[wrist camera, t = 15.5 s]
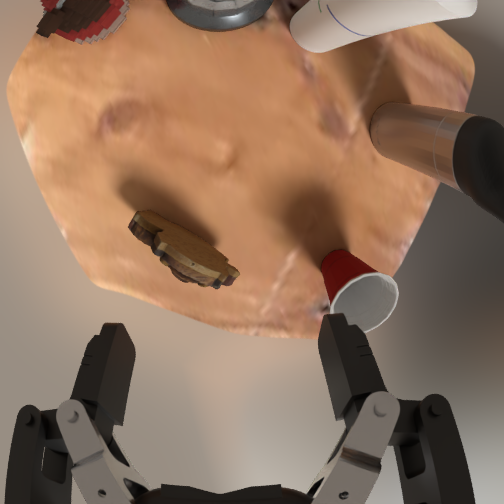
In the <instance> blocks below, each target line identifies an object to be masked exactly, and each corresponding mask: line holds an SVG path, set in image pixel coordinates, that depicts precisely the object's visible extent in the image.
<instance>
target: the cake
mask: <svg viewBox="0 0 504 504" xmlns="http://www.w3.org/2000/svg"><path fill="white" fill-rule="evenodd" d="M127 1H128V0H41V2H43V4H42V6H44V7H45V8H44V12H43V13H44V15H43V18H42V19H41V21H40V22H39V24H38V25H37V27H38V28H39V29H38V30H37V32H36V33H37V34H39V35H41V36H44V37H47V38H48V37H49V36H50V34H51V33H53V34H54V33H56V34H58V35H60V36H62V37H64V38H66V39H68V40H71V41H73V42H74V41H75V42H77V43H79V44H81V45H82V44H83V43H84V41H86V42H88V43H89V44H92V43H93V42H94V40H95V41H96V42H98V41H99V40H100V38H101V39H103V40H105V38H106V37H107V36H108V34H109V33H110V32H111V33H113V34H114V33H115V32H116V31H117V29H118V28H119V27H120V26H121V25H122V24H123V22H124V21H125V20H126V19H127V18H126V17H125V16H124V15H125V14H126V13H127V12H128V11H129V10H130V8H129V7H127V6H128V5H129V4H130V3H129V2H127Z"/></svg>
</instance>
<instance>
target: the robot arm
mask: <svg viewBox="0 0 504 504" xmlns="http://www.w3.org/2000/svg"><path fill="white" fill-rule="evenodd" d="M370 133H371V139H372V142H373V144H374V146H375V148H376V149H377V151H378V152H379V153H380V154H381V155H383V156H384V157H386V158H389V159H391V160H394V161H396V162H398V163H401V164H403V165H405V166H408V167H410V168H412V169H415V170H417V171H419V172H421V173H424V174H426V175H428V176H430V177H432V178H434V179H437V180H439V181H441V182H443V183H445V184H447V185H449V186H451V187H453V188H455V189H457V190H459V191H461V192H463V193H465V194H466V195H468V196H470V197H471V198H472V199H473V200H474V201H475V203H476V204H477V205H479V206H480V207H481V208H482V209H484V210H486V211H487V212H489V213H490V214H492V215H493V216H495V217H496V218H497V219H499V220H500V221H501V222H503V223H504V128H503V126H502V125H501V124H499V123H498V122H496V121H495V120H492V119H490V118H486V117H482V116H477V115H473V114H469V113H464V112H458V111H453V110H448V109H442V108H436V107H429V106H422V105H414V104H406V103H395V102H390V103H386V104H383V105H382V106H380V107H379V108H378V109H377V110H376V112H375V113H374V115H373V117H372V121H371V126H370ZM318 349H319V354H320V358H321V361H322V365H323V369H324V373H325V377H326V381H327V385H328V389H329V393H330V397H331V401H332V406H333V410H334V414H335V418H336V421H338V420H343V419H344V421H345V424H346V428H345V429H344V431H343V433H342V435H341V437H340V439H339V441H338V442H337V444H336V446H335V448H334V450H333V452H332V453H331V455H330V457H329V458H328V460H327V462H326V464H325V465H324V467H323V468H322V469H321V471H320V472H319V473H318V475H317V476H316V478H315V479H314V481H313V483H312V484H311V486H310V487H309V489H308V490H307V492H306V493H302V492H300V491H297V490H294V489H289V488H282V487H281V484H278V485H269V486H268V485H267V486H255V487H254V486H253V487H248V488H244V489H241V490H237V491H232V492H228V493H224V494H216V493H212V492H208V491H204V490H200V489H196V488H193V487H190V486H177V485H167V484H161V488H157V489H152V488H151V486H150V485H149V484H148V482H147V481H146V479H145V478H144V477H143V476H142V475H141V474H140V473H139V472H138V471H137V470H136V469H135V467H134V466H133V465H132V463H131V461H130V460H129V458H128V456H127V455H126V453H125V452H124V450H123V448H122V447H121V445H120V443H119V441H118V439H117V438H116V436H115V434H114V432H113V426H114V425H120V426H123V421H124V414H125V409H126V403H127V397H128V392H129V386H130V381H131V377H132V371H133V367H134V362H135V357H136V356H135V355H136V354H135V353H136V352H135V347H134V344H133V342H132V340H131V338H130V336H129V334H128V332H127V331H126V328H125V326H124V325H123V324H122V323H104V325H103V327H102V329H101V332H100V335H94V337H93V338H92V339H91V340H90V342H89V343H88V345H87V347H86V350H85V353H84V357H83V359H82V362H81V366H80V368H79V372H78V375H77V378H76V381H75V385H74V388H73V392H72V395H71V397H70V399H69V400H67V401H65V402H63V403H62V404H61V405H60V406H59V408H58V409H53V410H45V411H40V410H39V409H37V408H36V407H35V406H33V405H26V406H24V407H23V408H21V410H20V411H19V413H18V415H17V419H16V424H15V428H14V433H13V438H12V443H11V449H10V455H9V462H8V469H7V478H6V489H5V504H71V490H72V475H73V477H74V479H75V481H76V483H77V485H78V487H79V489H80V491H81V493H82V495H83V497H84V499H85V501H86V502H87V504H364V503H365V502H366V500H367V498H368V496H369V494H370V492H371V490H372V488H373V486H374V484H375V482H376V480H377V478H378V476H379V474H380V471H381V464H380V462H381V459H382V456H383V454H384V452H385V450H386V447H387V446H388V445H389V446H394V451H395V455H396V461H397V466H398V471H399V476H400V482H401V488H402V494H403V500H404V504H475V498H474V493H473V487H472V482H471V478H470V473H469V469H468V464H467V461H466V456H465V453H464V449H463V445H462V442H461V438H460V435H459V432H458V428H457V425H456V422H455V419H454V416H453V413H452V410H451V407H450V404H449V402H448V401H447V400H446V398H444V397H443V396H441V395H439V394H431V395H428V396H427V397H426V398H424V399H423V400H422V401H415V400H401V399H397V398H396V397H395V396H394V395H392V394H390V393H389V392H388V391H387V389H386V387H385V385H384V382H383V379H382V377H381V374H380V371H379V368H378V366H377V363H376V361H375V358H374V356H373V355H372V354H373V353H372V350H371V348H370V347H369V343H368V340H367V338H366V335H365V333H364V332H363V331H362V330H361V329H360V328H359V327H358V326H357V325H356V324H354V325H348V322H347V319H346V317H345V315H344V313H335V314H326V315H324V316H323V320H322V324H321V329H320V333H319V337H318ZM44 447H45V452H44ZM43 452H44V458H43ZM42 459H43V466H42ZM73 463H74V466H73Z"/></svg>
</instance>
